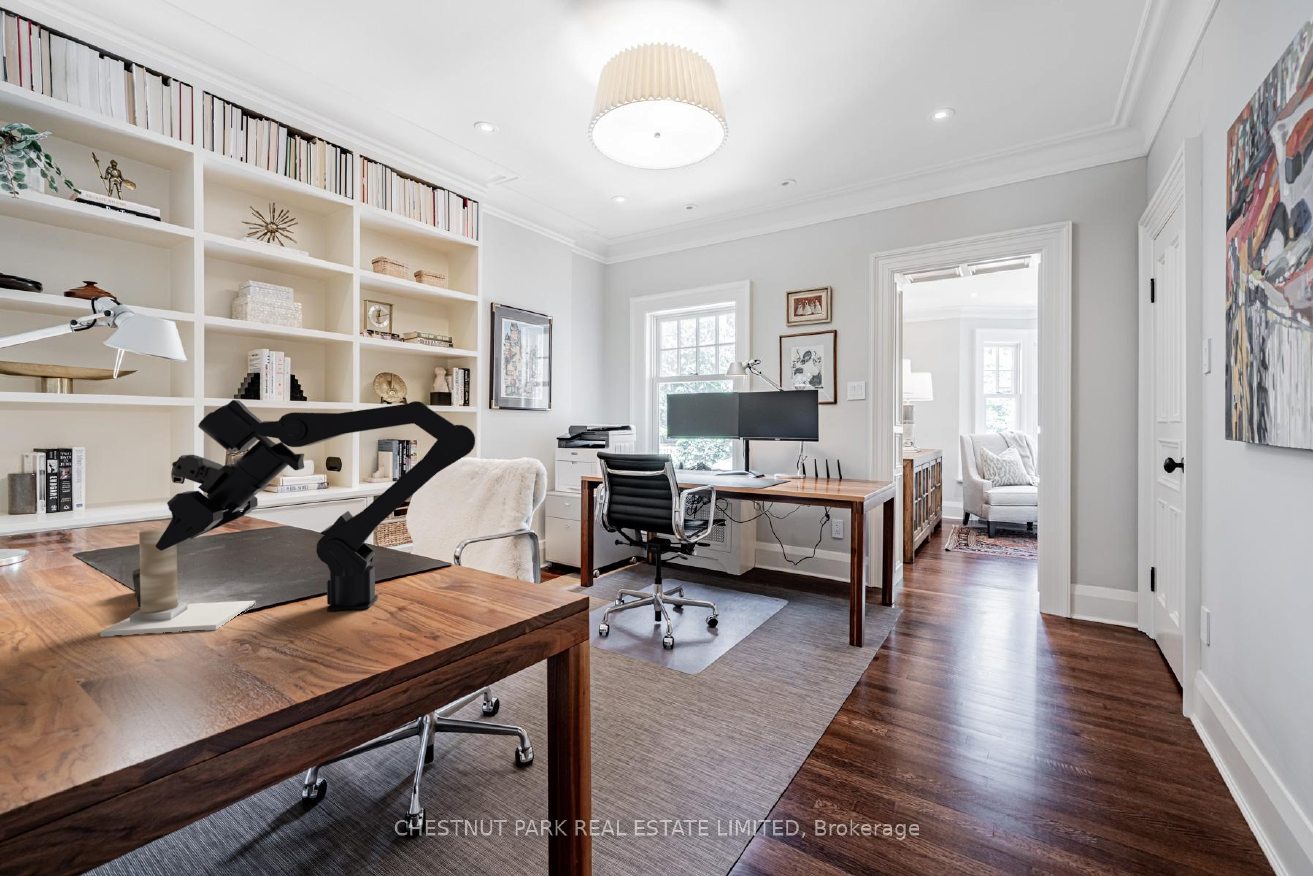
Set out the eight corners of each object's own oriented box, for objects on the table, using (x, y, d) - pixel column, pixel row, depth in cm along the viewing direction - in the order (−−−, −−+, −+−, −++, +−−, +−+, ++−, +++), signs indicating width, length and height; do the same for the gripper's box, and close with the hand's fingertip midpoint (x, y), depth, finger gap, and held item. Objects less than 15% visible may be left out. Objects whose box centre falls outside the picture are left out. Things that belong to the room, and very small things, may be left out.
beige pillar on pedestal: (187, 609, 93) (186, 527, 93) (170, 619, 88) (169, 532, 88) (148, 612, 92) (147, 528, 91) (129, 623, 87) (128, 534, 86)
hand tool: (171, 605, 94) (168, 578, 94) (139, 612, 91) (136, 584, 91) (161, 587, 108) (158, 563, 108) (132, 593, 105) (130, 568, 105)
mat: (255, 605, 98) (255, 600, 98) (215, 629, 86) (215, 624, 86) (155, 610, 95) (155, 605, 95) (100, 636, 83) (100, 631, 83)
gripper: (235, 436, 100) (161, 500, 97) (182, 438, 82) (89, 518, 79) (287, 479, 103) (216, 543, 100) (246, 490, 85) (159, 569, 82)
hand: (174, 542), depth 90 cm, fingers open, 9 cm apart
